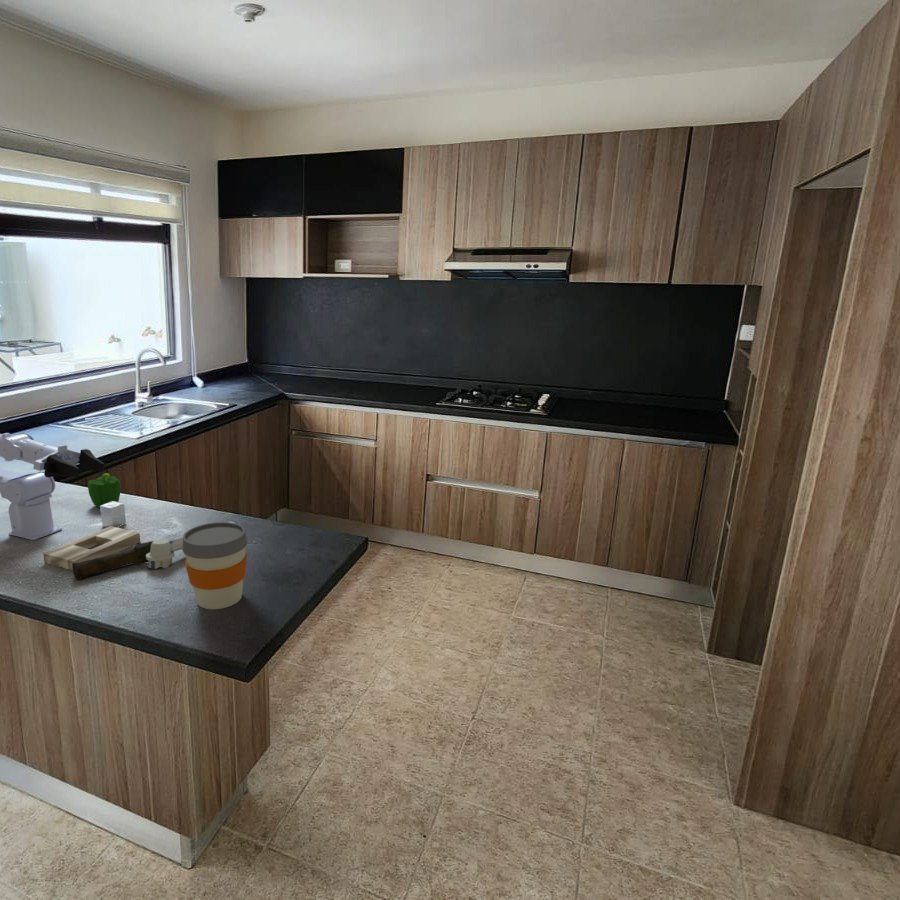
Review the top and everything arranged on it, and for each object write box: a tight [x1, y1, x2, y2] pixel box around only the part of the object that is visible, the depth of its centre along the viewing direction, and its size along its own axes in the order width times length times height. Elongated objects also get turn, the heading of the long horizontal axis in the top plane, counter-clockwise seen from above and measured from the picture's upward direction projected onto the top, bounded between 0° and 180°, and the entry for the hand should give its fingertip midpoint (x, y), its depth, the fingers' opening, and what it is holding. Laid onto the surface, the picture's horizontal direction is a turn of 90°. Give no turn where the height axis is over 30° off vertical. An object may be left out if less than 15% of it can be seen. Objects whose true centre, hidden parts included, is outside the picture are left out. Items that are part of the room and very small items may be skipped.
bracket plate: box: [42, 526, 141, 572], centre depth 146 cm, size 10×18×2 cm, turn 159°
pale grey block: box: [99, 501, 127, 528], centre depth 161 cm, size 4×4×6 cm
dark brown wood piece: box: [72, 540, 155, 581], centre depth 138 cm, size 19×4×5 cm, turn 130°
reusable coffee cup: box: [182, 521, 248, 610], centre depth 125 cm, size 13×13×15 cm
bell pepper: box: [87, 472, 122, 508], centre depth 175 cm, size 8×8×10 cm
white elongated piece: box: [146, 520, 239, 570], centre depth 148 cm, size 5×7×25 cm
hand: (90, 469), depth 146 cm, fingers open, 7 cm apart
